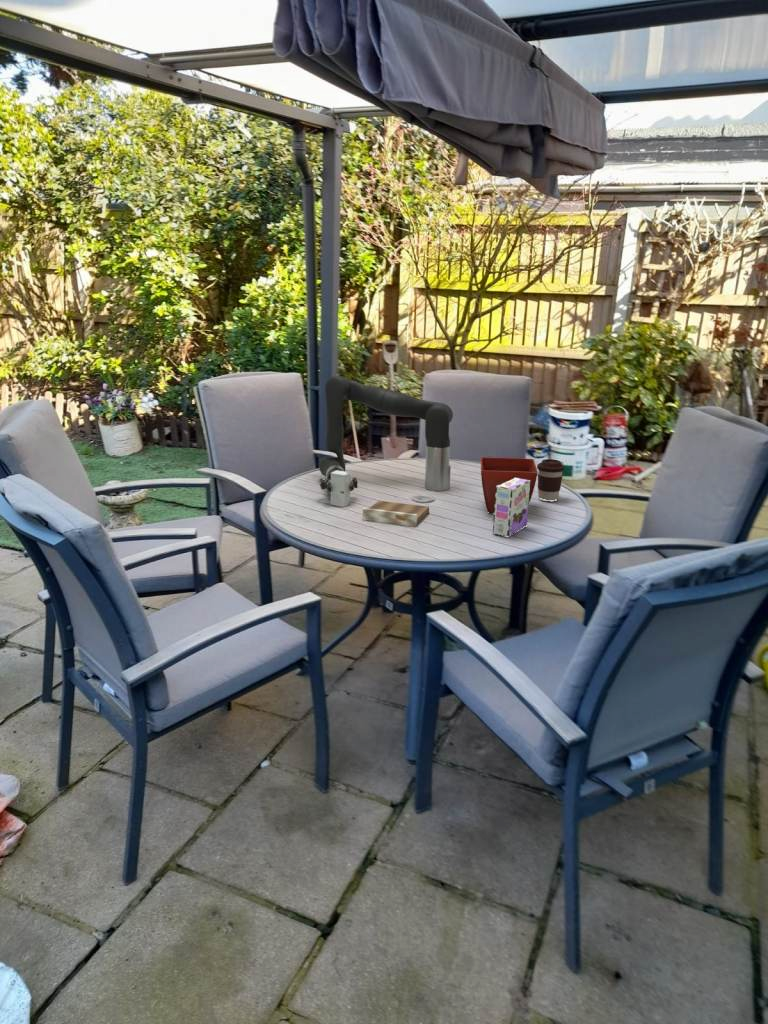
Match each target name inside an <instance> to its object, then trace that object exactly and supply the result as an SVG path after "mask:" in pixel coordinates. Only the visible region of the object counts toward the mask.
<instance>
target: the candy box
mask: <svg viewBox="0 0 768 1024" xmlns="http://www.w3.org/2000/svg"><path fill="white" fill-rule="evenodd" d="M529 492H530V480H525V479H520V478H514V479H512V480H510V481H507V482H505V483H503V484H500V485H498V486H496V493H495V508H494V514H493V523H492V525H493V526H492V535H495V534H498V535H497V536H499V535H503V536H510V535H512V534H514V533H515V532H517V531H518V530H520V529H521V528H523V527H524V526H526V525H527V526H528V517H529V504H530V503H529ZM517 533H518V532H517ZM514 535H515V534H514ZM512 536H513V535H512Z"/></svg>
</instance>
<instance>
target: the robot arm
mask: <svg viewBox="0 0 768 1024" xmlns="http://www.w3.org/2000/svg"><path fill="white" fill-rule="evenodd" d="M324 392H325V401H326V402H325V403H326V430H325V442H324V443H325V445H324V448H325V450H326V452H330V453H333V454H335V455H336V457H328V456H327V457H323V458H322V459H320V461H319V463H318V465H319V467H318V468H319V471H320V474H321V475H322V476H324V477H326V478H325V479H326V480H325V479H323V478H319V487H320V488H321V490H325V489H326V491H327V492H329V493H331V473H332V472H334V471H336V470H337V471H344V472H346V468H347V467H346V462H345V458H344V452H343V451H344V450H343V449H344V447H343V446H344V422H343V421H344V420H343V403H344V401H351V402H355V403H360V404H363V405H365V406H367V407H368V408H371V409H373V410H375V411H378V412H380V413H384V414H388V415H391V416H397V417H398V416H399V417H408V418H409V417H410V418H411V417H413V418H418V419H420V420H424V425H425V426H424V432H425V435H424V436H425V441H426V442H425V445H426V446H425V449H426V450H425V477H424V487H425V489H426V490H428V491H433V492H442V491H447V490H450V488H451V487H450V486H451V465H450V454H451V452H450V451H451V439H450V423H451V421H453V418H454V417H453V416H454V411H453V410H452V409H451V407H450V406H449V405H448V404H446V403H442V402H437V401H432V400H431V401H430V400H425V399H420V398H417V397H414V396H412V395H408V394H405V393H402V392H399V391H396V390H392V389H389V388H385V387H379V386H374V385H373V386H372V385H366V384H364V383H360V382H357V381H356V380H352V379H350V378H348V377H345V376H342V375H340V376H339V375H333V376H330V377H329V378H328V379H327V380H326V382H325V385H324ZM358 488H359V486H358V479H357V477H353V478H351V479H350V492H353V491H354V490H355V489H358Z"/></svg>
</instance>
